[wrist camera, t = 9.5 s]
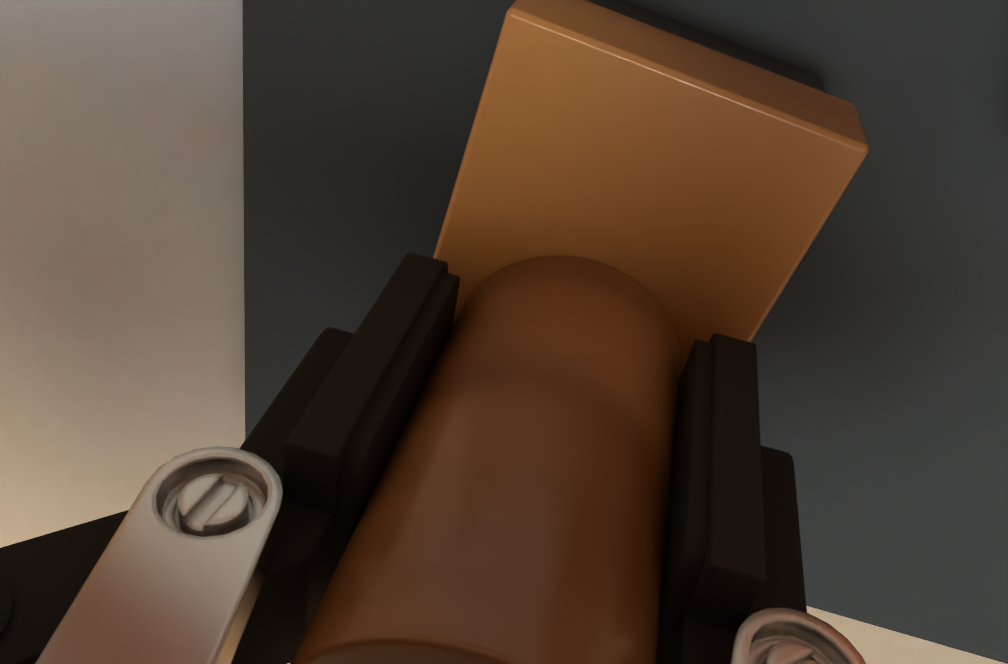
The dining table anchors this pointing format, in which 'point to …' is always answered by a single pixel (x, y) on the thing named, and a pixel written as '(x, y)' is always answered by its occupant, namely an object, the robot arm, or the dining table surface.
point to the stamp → (581, 334)
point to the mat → (796, 313)
